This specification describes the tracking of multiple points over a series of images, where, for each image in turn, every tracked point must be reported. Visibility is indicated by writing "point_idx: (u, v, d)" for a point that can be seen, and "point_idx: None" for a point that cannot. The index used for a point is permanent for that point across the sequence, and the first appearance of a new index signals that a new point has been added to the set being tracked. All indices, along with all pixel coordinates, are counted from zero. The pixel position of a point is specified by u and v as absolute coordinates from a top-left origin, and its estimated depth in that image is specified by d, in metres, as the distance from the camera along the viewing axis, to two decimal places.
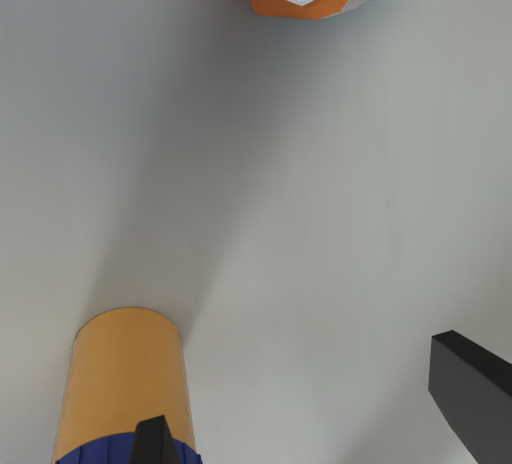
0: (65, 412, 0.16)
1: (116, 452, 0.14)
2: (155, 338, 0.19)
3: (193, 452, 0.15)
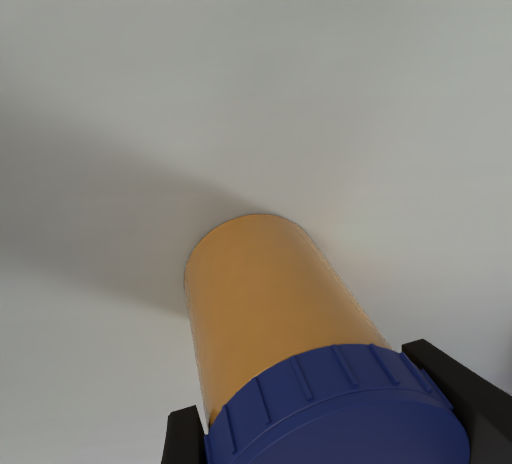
0: None
1: None
2: (203, 275, 0.14)
3: (278, 368, 0.09)
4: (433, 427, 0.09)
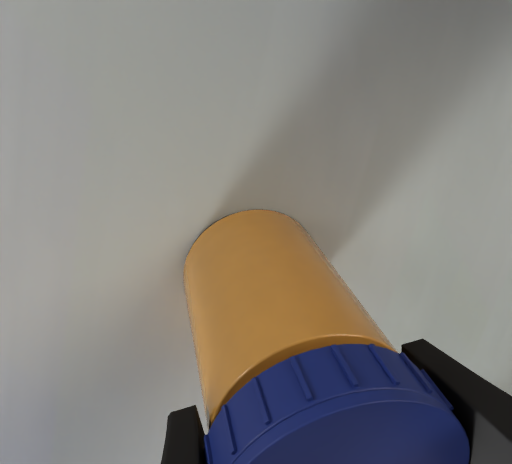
0: (230, 310, 0.11)
1: None
2: (317, 248, 0.15)
3: (278, 368, 0.09)
4: (433, 427, 0.09)
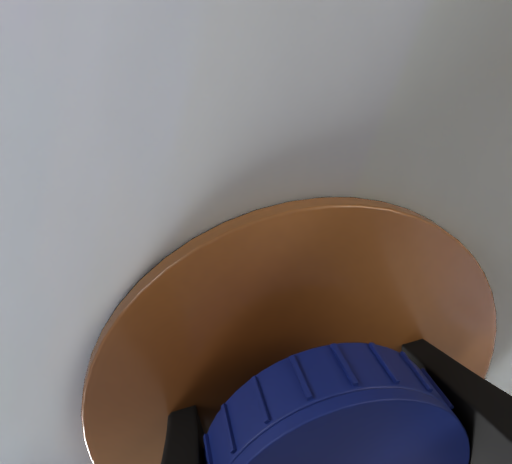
0: None
1: None
2: None
3: (277, 367, 0.09)
4: (433, 426, 0.09)
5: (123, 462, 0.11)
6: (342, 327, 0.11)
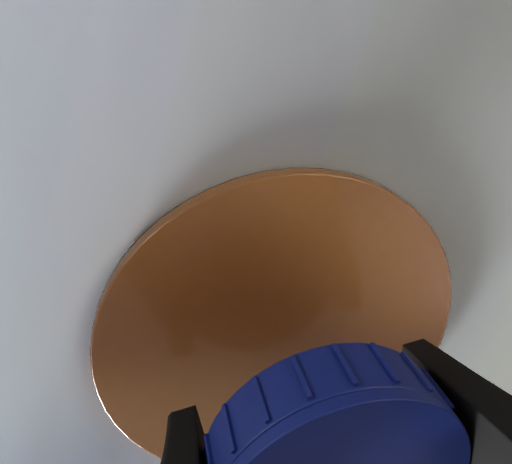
0: None
1: None
2: None
3: (278, 367, 0.09)
4: (434, 426, 0.09)
5: (125, 399, 0.13)
6: (314, 282, 0.12)
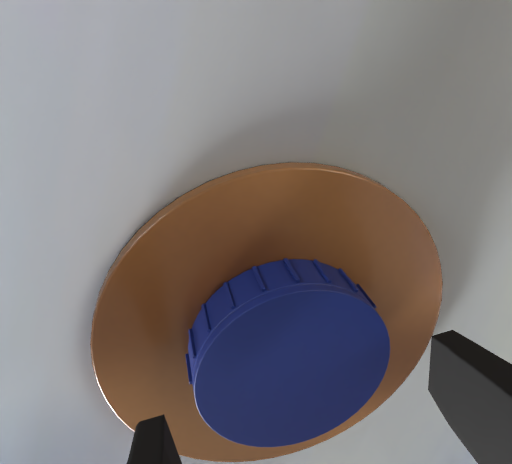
0: None
1: (190, 361, 0.12)
2: None
3: (243, 275, 0.12)
4: (357, 316, 0.12)
5: (125, 388, 0.13)
6: None
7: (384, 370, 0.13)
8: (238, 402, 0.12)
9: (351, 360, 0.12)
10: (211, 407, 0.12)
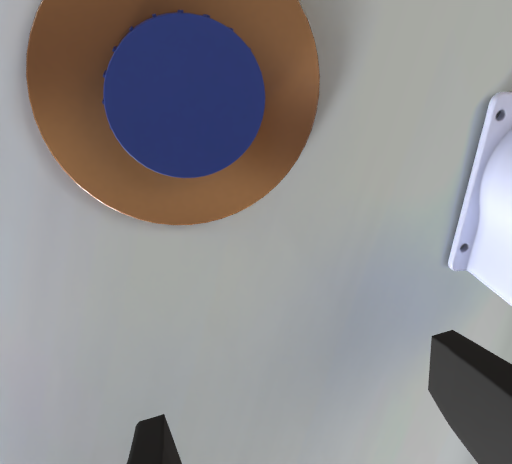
0: None
1: None
2: None
3: (145, 20, 0.15)
4: (232, 47, 0.15)
5: (57, 126, 0.16)
6: None
7: (262, 110, 0.16)
8: (141, 121, 0.15)
9: (232, 93, 0.16)
10: (119, 122, 0.15)
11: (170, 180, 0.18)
